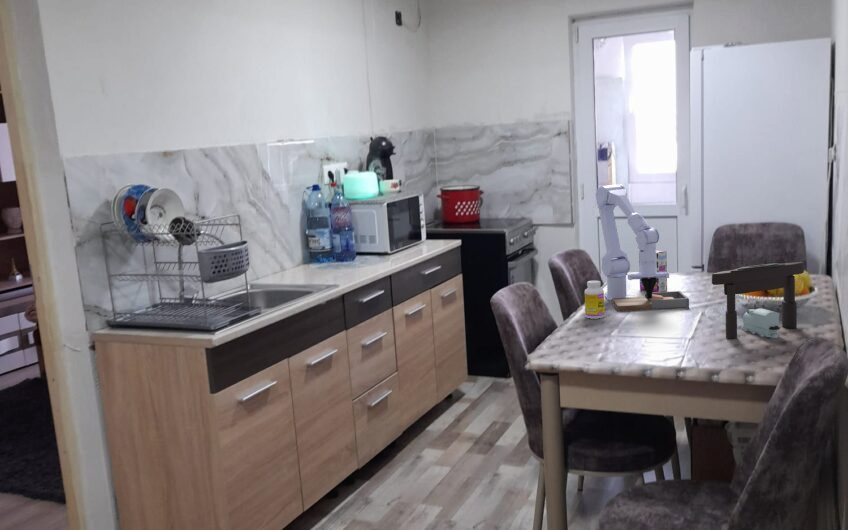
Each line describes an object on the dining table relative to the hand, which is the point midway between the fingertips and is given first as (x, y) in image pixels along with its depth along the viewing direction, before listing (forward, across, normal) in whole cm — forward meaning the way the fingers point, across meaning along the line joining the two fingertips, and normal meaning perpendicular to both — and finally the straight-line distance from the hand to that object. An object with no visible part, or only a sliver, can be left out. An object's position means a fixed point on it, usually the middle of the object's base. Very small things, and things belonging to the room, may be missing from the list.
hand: (649, 298), depth 284 cm
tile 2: (+2, +7, 0) cm, 7 cm away
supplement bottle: (+3, -21, -14) cm, 26 cm away
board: (+3, -6, 0) cm, 7 cm away
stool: (+3, +25, -44) cm, 51 cm away
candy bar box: (+3, +7, +27) cm, 28 cm away
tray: (+3, +6, 0) cm, 7 cm away
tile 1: (+1, +2, 0) cm, 3 cm away
